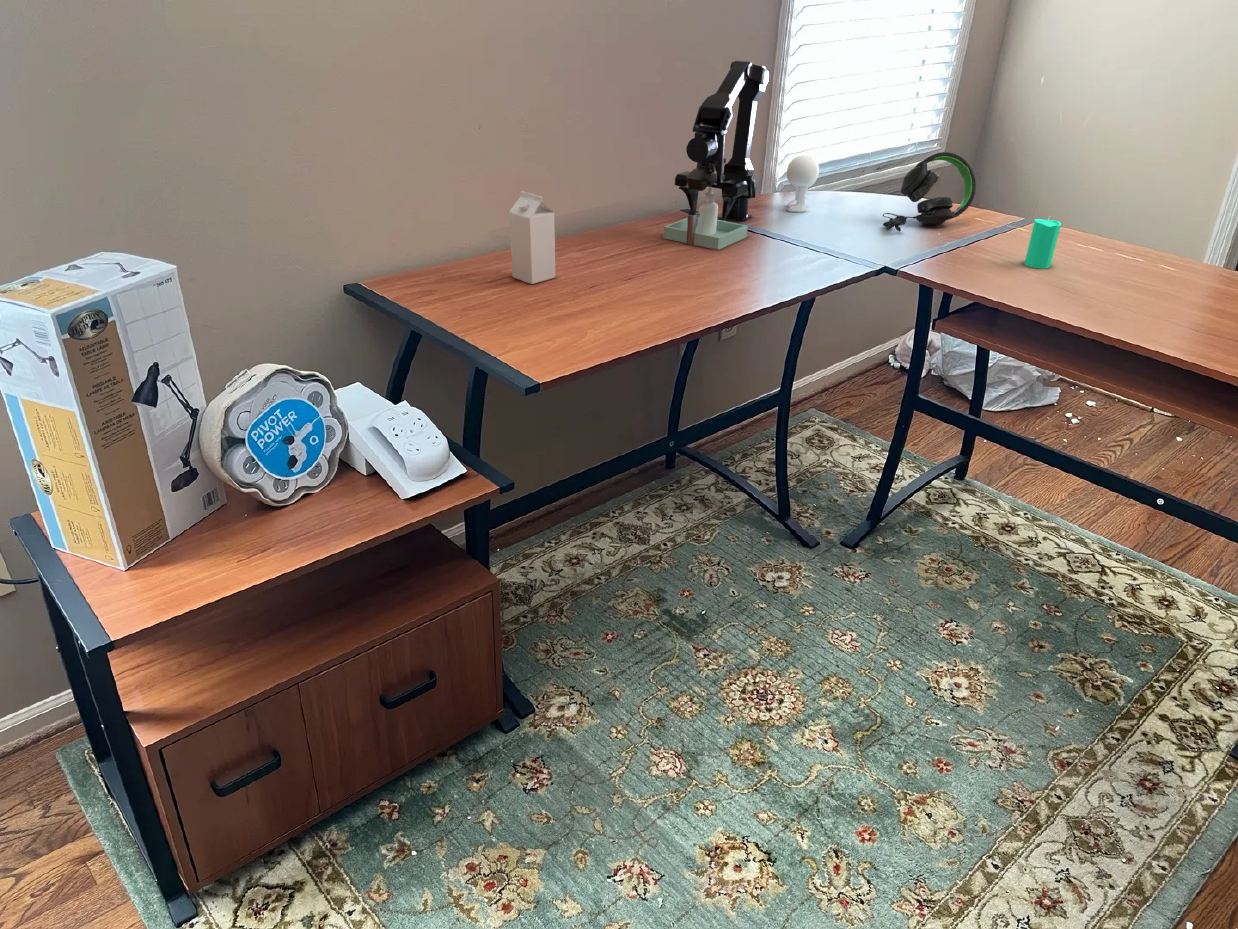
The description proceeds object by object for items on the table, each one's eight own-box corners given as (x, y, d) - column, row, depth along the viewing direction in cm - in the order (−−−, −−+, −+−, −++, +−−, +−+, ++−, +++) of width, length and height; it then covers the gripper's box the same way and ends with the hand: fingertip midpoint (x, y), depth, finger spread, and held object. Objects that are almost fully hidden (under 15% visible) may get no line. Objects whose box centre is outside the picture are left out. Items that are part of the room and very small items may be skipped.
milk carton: (535, 270, 213) (533, 188, 203) (555, 278, 209) (554, 194, 199) (512, 277, 209) (508, 193, 199) (531, 285, 204) (528, 199, 195)
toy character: (782, 204, 270) (787, 151, 262) (813, 205, 269) (819, 152, 261) (783, 212, 262) (789, 158, 254) (815, 213, 261) (822, 159, 253)
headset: (893, 257, 254) (975, 200, 256) (915, 249, 241) (1002, 189, 243) (859, 202, 252) (943, 144, 253) (880, 191, 238) (968, 131, 240)
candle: (1020, 264, 222) (1032, 215, 216) (1029, 259, 225) (1041, 210, 219) (1044, 270, 218) (1057, 220, 212) (1054, 264, 222) (1067, 215, 216)
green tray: (693, 226, 248) (694, 214, 246) (746, 237, 239) (747, 225, 238) (663, 238, 238) (663, 226, 236) (718, 250, 229) (718, 237, 228)
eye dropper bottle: (693, 231, 240) (697, 185, 234) (713, 231, 241) (717, 185, 235) (698, 237, 236) (702, 190, 230) (719, 236, 238) (723, 190, 231)
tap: (692, 240, 236) (694, 207, 232) (700, 242, 235) (702, 209, 231) (684, 243, 233) (686, 211, 229) (691, 245, 232) (693, 212, 228)
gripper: (663, 154, 228) (661, 217, 236) (728, 165, 218) (723, 230, 226) (687, 148, 236) (684, 208, 243) (750, 157, 226) (745, 220, 234)
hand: (708, 216), depth 237 cm, fingers open, 9 cm apart
